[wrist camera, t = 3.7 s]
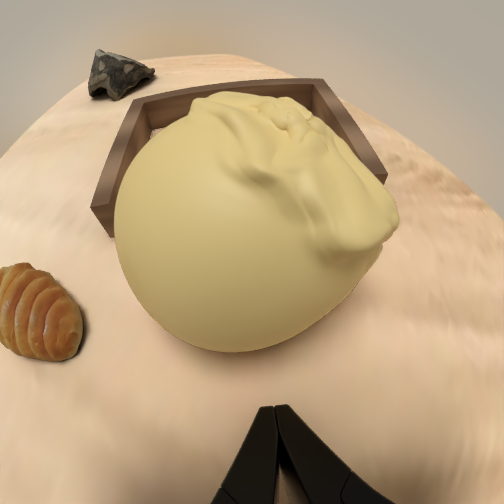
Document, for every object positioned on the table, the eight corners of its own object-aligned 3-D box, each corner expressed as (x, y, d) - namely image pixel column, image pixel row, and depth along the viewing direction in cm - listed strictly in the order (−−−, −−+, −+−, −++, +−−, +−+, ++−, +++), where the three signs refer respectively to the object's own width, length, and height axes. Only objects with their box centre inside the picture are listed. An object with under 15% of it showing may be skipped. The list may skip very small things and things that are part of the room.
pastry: (104, 296, 17) (75, 270, 14) (73, 388, 14) (35, 377, 11) (28, 270, 19) (2, 246, 15) (1, 340, 15) (-31, 323, 12)
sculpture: (377, 297, 16) (468, 165, 7) (200, 400, 14) (84, 365, 4) (281, 180, 22) (284, 47, 13) (135, 245, 19) (65, 118, 10)
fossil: (172, 68, 36) (141, 29, 26) (143, 115, 36) (103, 80, 26) (126, 68, 39) (95, 37, 29) (100, 110, 39) (63, 82, 29)
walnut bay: (374, 207, 20) (388, 173, 17) (110, 237, 20) (90, 207, 17) (319, 105, 28) (322, 78, 25) (141, 125, 28) (133, 99, 25)
